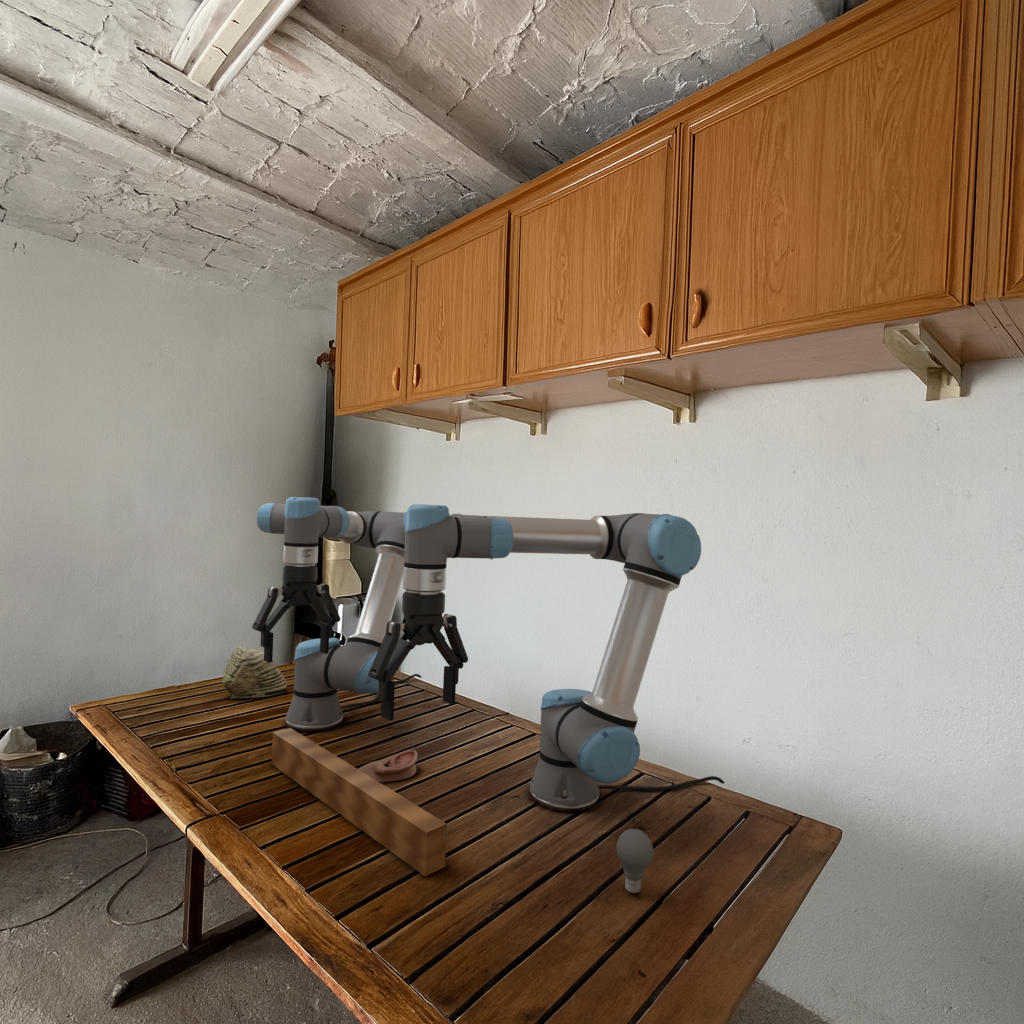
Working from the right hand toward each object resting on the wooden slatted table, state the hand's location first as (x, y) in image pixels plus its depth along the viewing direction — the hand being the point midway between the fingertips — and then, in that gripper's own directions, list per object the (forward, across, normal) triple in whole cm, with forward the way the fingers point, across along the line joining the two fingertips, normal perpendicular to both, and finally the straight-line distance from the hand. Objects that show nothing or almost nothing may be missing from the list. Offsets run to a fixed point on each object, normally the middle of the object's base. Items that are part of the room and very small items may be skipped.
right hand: (419, 710), depth 113 cm
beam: (+26, 0, +23) cm, 35 cm away
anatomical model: (+26, +16, +32) cm, 44 cm away
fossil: (+26, +16, +104) cm, 109 cm away
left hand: (0, 0, +46) cm, 46 cm away
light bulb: (+26, +21, -32) cm, 47 cm away
